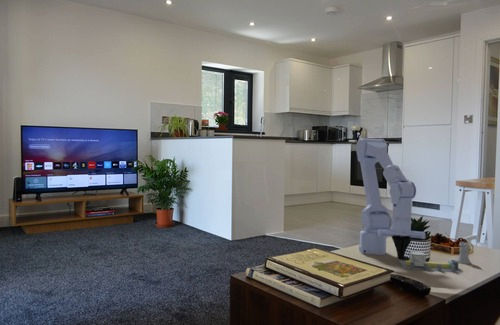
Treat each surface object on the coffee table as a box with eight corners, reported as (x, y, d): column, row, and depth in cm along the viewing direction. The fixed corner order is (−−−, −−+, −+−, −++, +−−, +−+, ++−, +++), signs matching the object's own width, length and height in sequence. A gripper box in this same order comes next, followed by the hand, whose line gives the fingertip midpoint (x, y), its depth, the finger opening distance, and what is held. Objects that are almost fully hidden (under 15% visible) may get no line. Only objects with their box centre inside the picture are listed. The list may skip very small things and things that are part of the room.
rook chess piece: (469, 264, 128) (470, 241, 128) (472, 268, 124) (473, 244, 124) (454, 263, 130) (455, 240, 129) (457, 266, 125) (458, 243, 125)
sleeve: (412, 265, 120) (412, 254, 120) (409, 262, 124) (409, 251, 124) (425, 266, 120) (425, 255, 119) (421, 263, 123) (422, 252, 123)
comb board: (404, 272, 118) (404, 261, 118) (397, 263, 128) (398, 253, 128) (462, 276, 115) (462, 265, 115) (450, 267, 125) (451, 257, 125)
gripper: (380, 218, 120) (379, 260, 120) (428, 221, 117) (427, 263, 118) (377, 215, 127) (376, 254, 127) (422, 217, 124) (421, 257, 124)
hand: (400, 258), depth 123 cm, fingers closed
